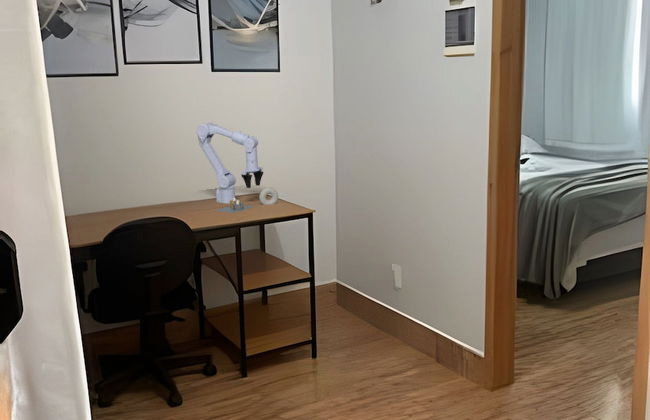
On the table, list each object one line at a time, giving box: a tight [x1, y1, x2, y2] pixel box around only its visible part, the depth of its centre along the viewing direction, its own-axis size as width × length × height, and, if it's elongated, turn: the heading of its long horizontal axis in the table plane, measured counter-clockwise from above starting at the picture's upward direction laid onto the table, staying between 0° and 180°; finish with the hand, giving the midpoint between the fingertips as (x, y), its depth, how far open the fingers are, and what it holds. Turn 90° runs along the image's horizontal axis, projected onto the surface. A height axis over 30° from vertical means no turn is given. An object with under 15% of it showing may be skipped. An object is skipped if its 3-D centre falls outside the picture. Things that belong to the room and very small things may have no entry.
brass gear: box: [229, 198, 242, 208], centre depth 318 cm, size 6×6×4 cm
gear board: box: [214, 197, 255, 214], centre depth 314 cm, size 13×16×6 cm
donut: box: [258, 187, 279, 206], centre depth 323 cm, size 10×3×10 cm, turn 109°
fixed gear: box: [232, 202, 245, 211], centre depth 312 cm, size 5×5×3 cm
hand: (253, 186), depth 326 cm, fingers open, 7 cm apart
